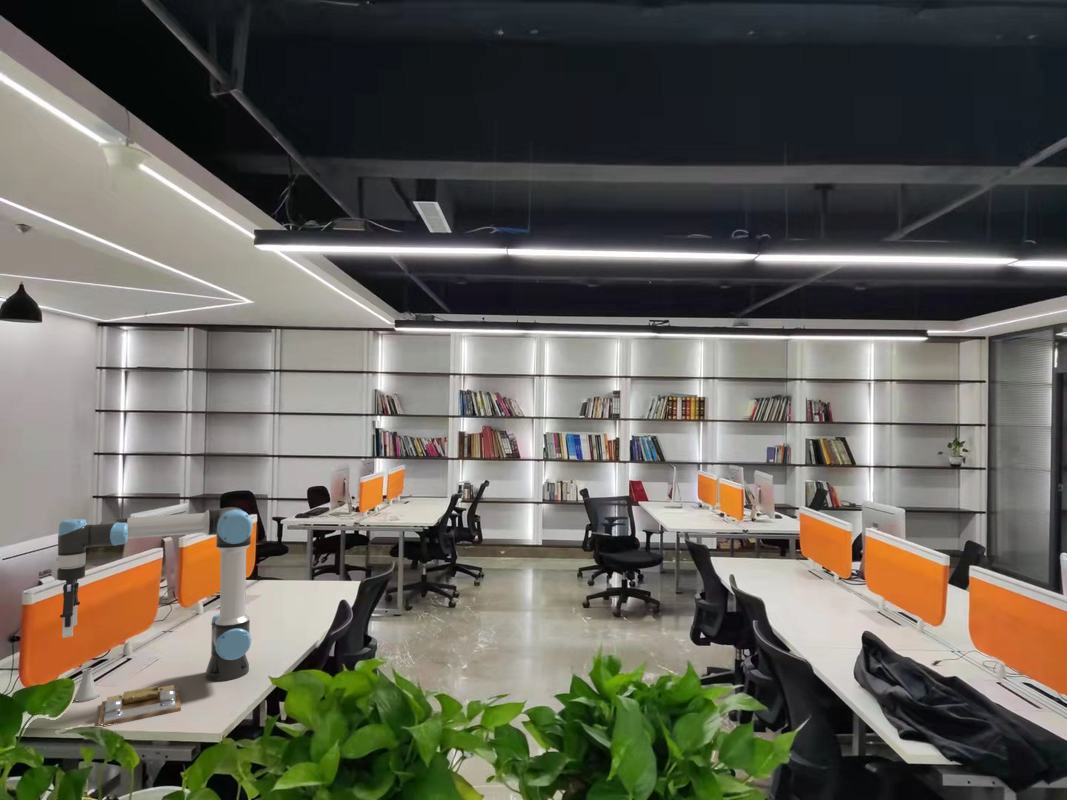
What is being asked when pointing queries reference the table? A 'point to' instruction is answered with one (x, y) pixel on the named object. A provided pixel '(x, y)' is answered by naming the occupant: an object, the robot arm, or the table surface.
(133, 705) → the board
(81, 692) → the flask
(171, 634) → the table surface
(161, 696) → the fixed leaf
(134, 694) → the gold silver metal bar
